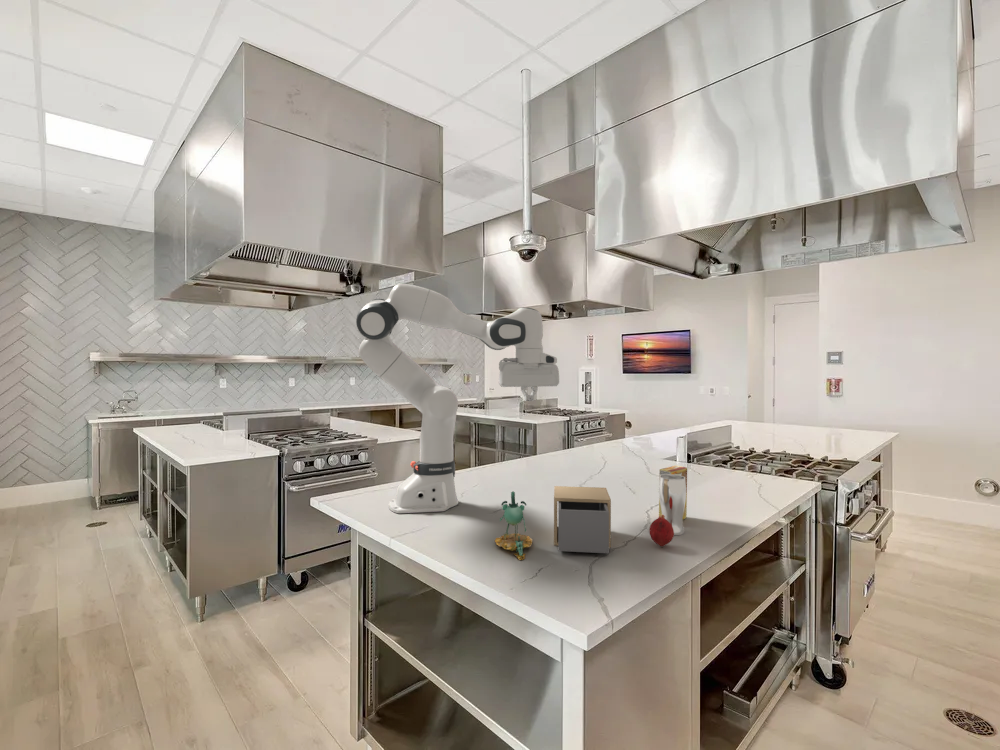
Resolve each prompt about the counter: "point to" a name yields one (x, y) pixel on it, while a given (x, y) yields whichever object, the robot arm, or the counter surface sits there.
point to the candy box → (676, 471)
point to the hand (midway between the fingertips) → (529, 400)
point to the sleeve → (580, 496)
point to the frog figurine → (515, 541)
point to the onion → (661, 531)
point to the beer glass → (673, 500)
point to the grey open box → (583, 527)
